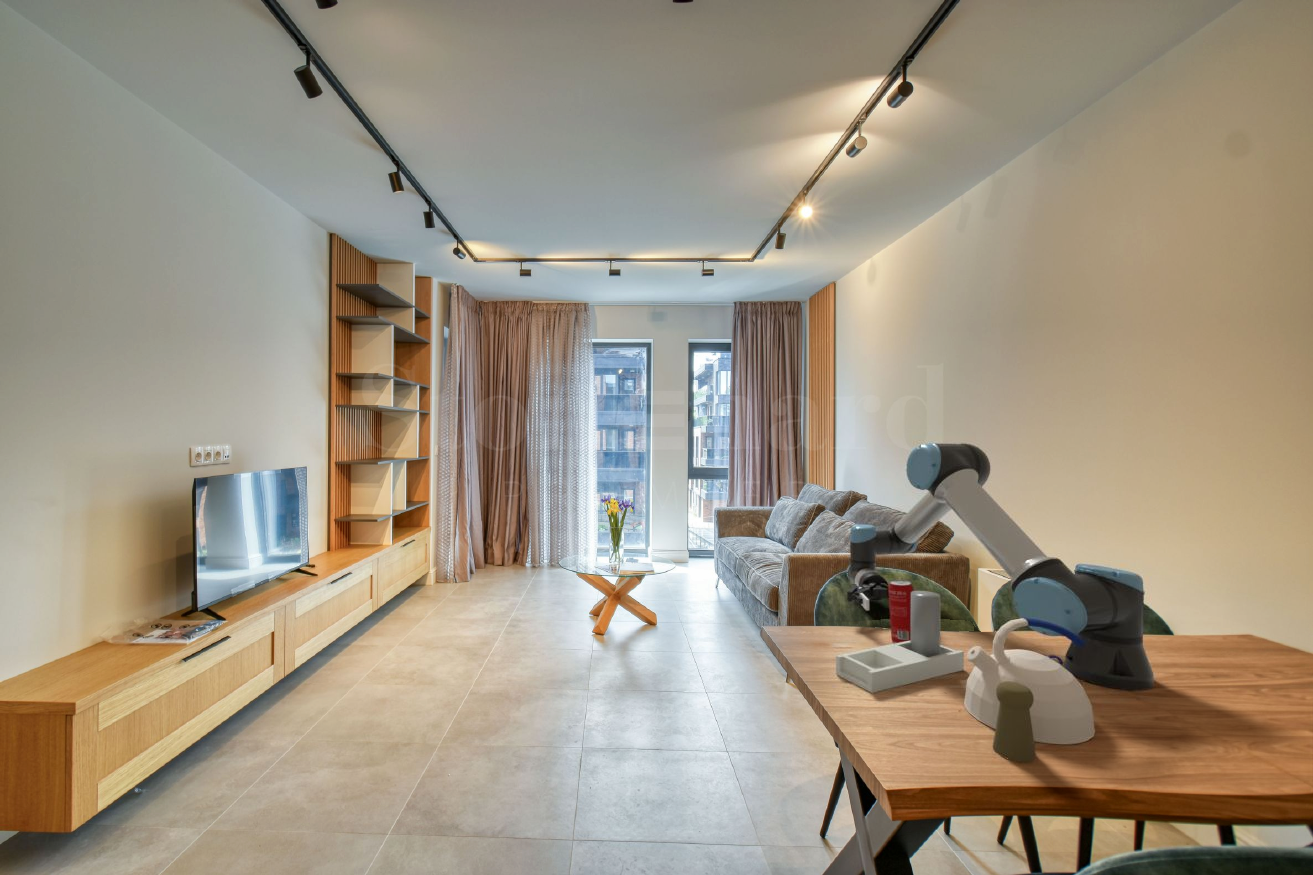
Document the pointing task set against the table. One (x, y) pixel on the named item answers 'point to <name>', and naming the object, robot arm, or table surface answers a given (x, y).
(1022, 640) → the table surface
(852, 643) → the table surface
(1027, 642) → the table surface
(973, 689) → the kettle
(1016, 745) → the cork
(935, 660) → the can rail
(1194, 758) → the table surface
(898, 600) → the beverage can
